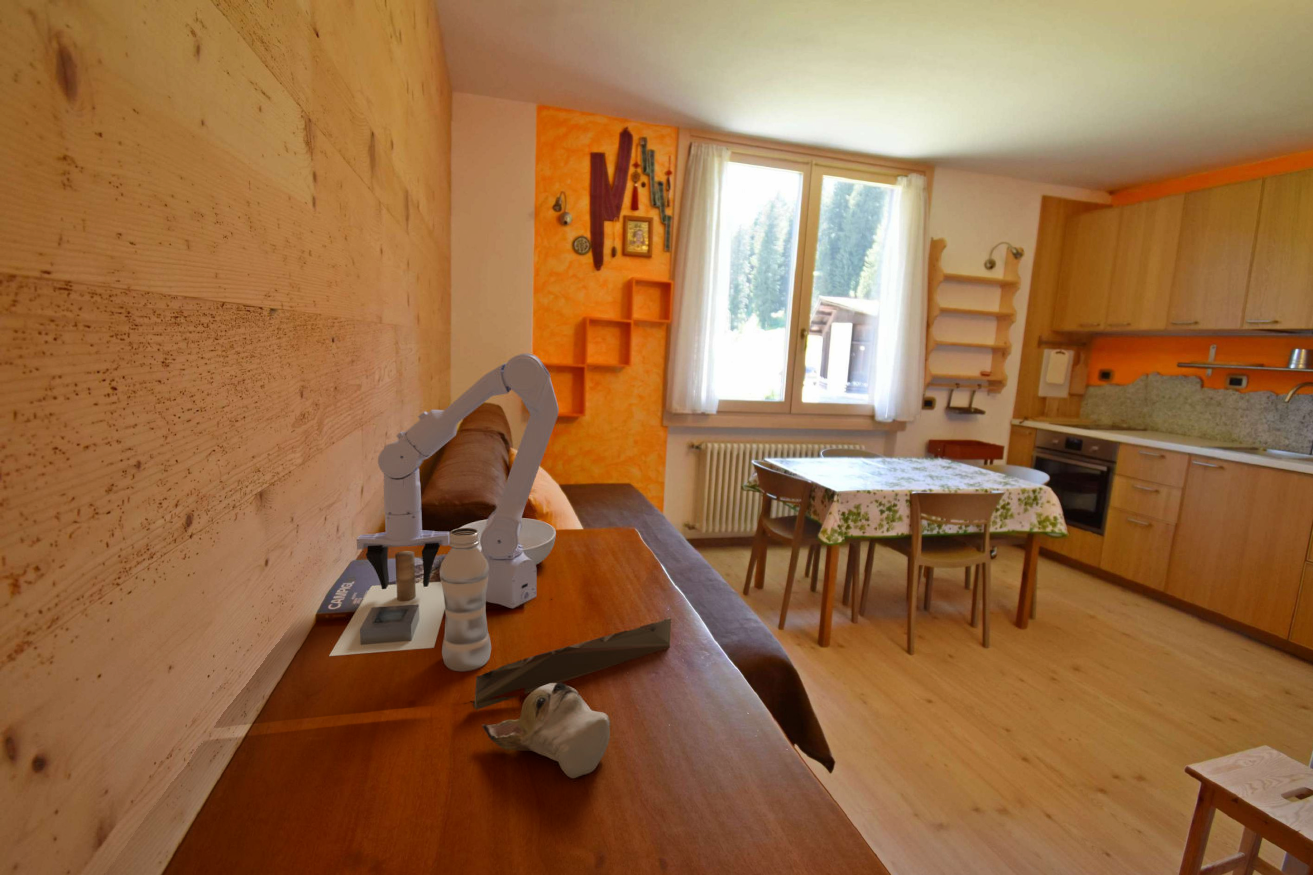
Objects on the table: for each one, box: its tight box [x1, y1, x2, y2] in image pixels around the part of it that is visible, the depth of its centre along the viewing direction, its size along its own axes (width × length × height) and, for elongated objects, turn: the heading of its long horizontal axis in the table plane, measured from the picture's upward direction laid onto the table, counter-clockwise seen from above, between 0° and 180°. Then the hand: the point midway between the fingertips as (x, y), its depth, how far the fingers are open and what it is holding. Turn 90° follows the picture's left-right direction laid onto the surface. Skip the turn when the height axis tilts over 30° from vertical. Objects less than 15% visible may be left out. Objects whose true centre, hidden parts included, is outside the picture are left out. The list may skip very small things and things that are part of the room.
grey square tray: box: [360, 604, 420, 645], centre depth 88 cm, size 7×7×2 cm
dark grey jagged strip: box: [472, 617, 672, 711], centre depth 80 cm, size 30×1×5 cm, turn 124°
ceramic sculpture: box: [482, 682, 611, 779], centre depth 65 cm, size 11×9×15 cm
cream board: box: [328, 581, 445, 657], centre depth 94 cm, size 24×14×1 cm, turn 13°
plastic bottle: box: [439, 527, 492, 672], centre depth 80 cm, size 6×7×20 cm
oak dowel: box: [394, 550, 416, 601], centre depth 99 cm, size 3×3×8 cm
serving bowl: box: [459, 517, 557, 566], centre depth 118 cm, size 21×21×7 cm
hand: (406, 585), depth 99 cm, fingers open, 6 cm apart
